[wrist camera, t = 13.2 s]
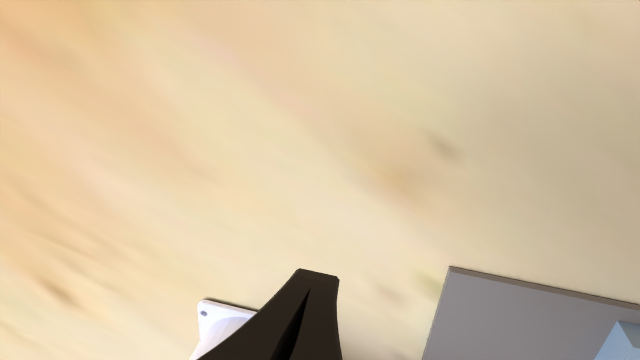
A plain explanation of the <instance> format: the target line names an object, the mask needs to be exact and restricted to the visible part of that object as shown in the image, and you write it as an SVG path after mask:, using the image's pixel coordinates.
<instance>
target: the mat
mask: <svg viewBox="0 0 640 360" xmlns="http://www.w3.org/2000/svg"><path fill="white" fill-rule="evenodd" d="M617 321H622V322H626V323H631V324H636V325H640V305H636V304H631V303H626V302H621V301H617V300H612V299H607V298H602V297H597V296H592V295H587V294H582V293H578V292H573V291H568V290H563V289H558V288H553V287H548V286H543V285H539V284H534V283H529V282H524V281H519V280H514V279H509V278H504V277H499V276H495V275H490V274H485V273H480V272H475V271H470V270H465V269H460V268H456V267H451V266H449V269H448V273H447V276H446V279H445V283H444V286H443V289H442V293H441V296H440V300H439V303H438V306H437V310H436V313H435V316H434V320H433V323H432V327H431V330H430V333H429V337H428V340H427V344H426V347H425V350H424V354H423V357H422V360H594V359H595V358H596V356H597V354H598V353H599V351H600V349H601V347H602V346H603V344H604V342H605V341H606V339H607V337H608V336H609V334H610V332H611V331H612V329H613V327H614V325H615V324H616V322H617Z"/></svg>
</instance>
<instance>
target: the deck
mask: <svg viewBox="0 0 640 360" xmlns="http://www.w3.org/2000/svg"><path fill="white" fill-rule="evenodd" d="M594 360H640V325H636V324H631V323H626V322H622V321H617V322H616V324H615V325H614V327H613V329H612V331H611V332H610V334H609V336H608V337H607V339H606V341H605V342H604V344H603V346H602V347H601V349H600V351H599V353H598V354H597V356H596V358H595V359H594Z"/></svg>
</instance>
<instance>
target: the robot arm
mask: <svg viewBox="0 0 640 360" xmlns="http://www.w3.org/2000/svg"><path fill="white" fill-rule="evenodd" d="M338 287H339V279H338V278H337V276H333V275H328V274H323V273H319V272H314V271H310V270H305V269H301V268H300V269H298V270H296V271H295V273H294V274H293V275H292V276H291V278H290V279H289V280H288V281H287V282H286V283H285V284H284V286H283V287H282V288H281V289H280V290H279V291H278V292H277V293H276V294H275V295H274V296H273V297H272V298H271V299H270V300H269V301H268V302H267V303H266V304H265V305H264V306H263V307H262V308H261V309H260V310H259V311H258V312H254V311H250V310H246V309H242V308H238V307H234V306H230V305H226V304H221V303H217V302H213V301H209V300H201V301H200V302H199V303H198V319H199V331H200V343H199V344H198V346H197V347H196V349H195V351H194V352H193V354H192V355H191V357H190V359H189V360H343V359H342V354H341V348H340V341H339V334H338V323H337V294H338Z"/></svg>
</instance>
